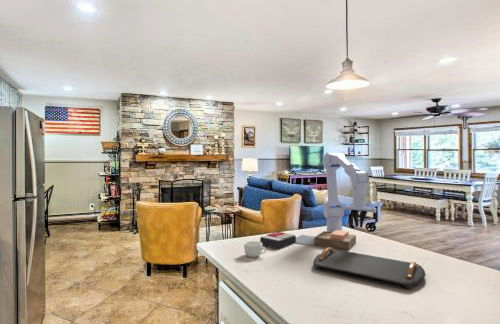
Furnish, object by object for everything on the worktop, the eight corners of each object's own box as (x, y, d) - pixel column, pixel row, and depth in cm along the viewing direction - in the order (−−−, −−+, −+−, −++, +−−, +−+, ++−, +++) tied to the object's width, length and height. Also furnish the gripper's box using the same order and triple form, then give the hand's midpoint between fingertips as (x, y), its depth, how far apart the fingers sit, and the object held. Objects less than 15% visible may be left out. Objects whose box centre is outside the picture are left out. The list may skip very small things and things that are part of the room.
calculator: (296, 234, 159) (279, 239, 147) (296, 243, 159) (278, 249, 147) (277, 230, 166) (259, 235, 154) (277, 239, 166) (259, 244, 154)
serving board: (429, 273, 119) (429, 256, 119) (419, 296, 100) (420, 276, 100) (328, 254, 141) (328, 240, 141) (305, 270, 123) (305, 253, 122)
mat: (301, 235, 173) (301, 234, 173) (323, 238, 166) (323, 237, 166) (289, 242, 159) (289, 241, 159) (312, 246, 153) (312, 245, 153)
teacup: (240, 256, 137) (240, 244, 137) (249, 252, 144) (249, 240, 143) (261, 260, 132) (261, 247, 132) (270, 255, 138) (270, 243, 138)
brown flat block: (323, 239, 165) (323, 231, 165) (355, 243, 157) (355, 235, 157) (314, 245, 153) (314, 237, 153) (348, 250, 145) (348, 242, 145)
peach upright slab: (336, 234, 159) (336, 230, 159) (348, 235, 156) (348, 231, 156) (330, 238, 152) (330, 233, 152) (343, 239, 149) (343, 235, 149)
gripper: (341, 197, 149) (340, 226, 150) (374, 199, 142) (374, 230, 142) (345, 195, 155) (345, 223, 156) (377, 197, 148) (376, 227, 148)
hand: (359, 226), depth 149 cm, fingers closed
